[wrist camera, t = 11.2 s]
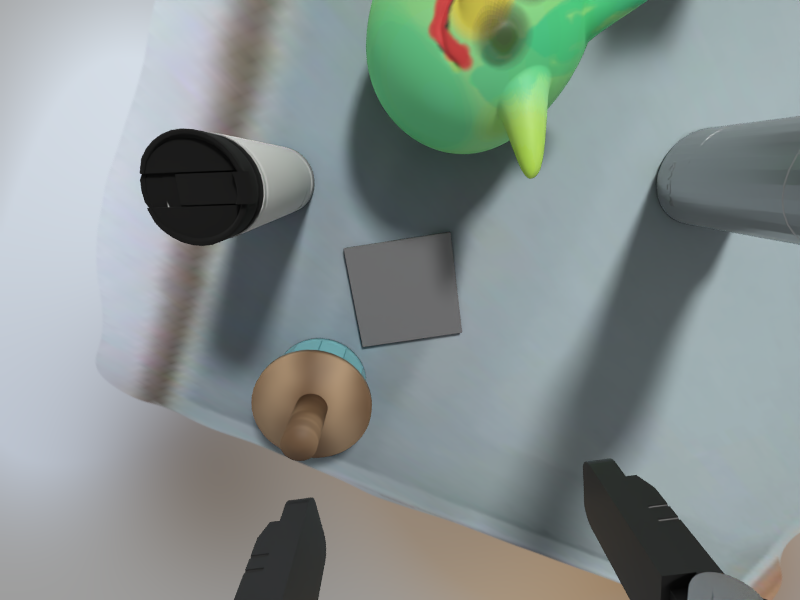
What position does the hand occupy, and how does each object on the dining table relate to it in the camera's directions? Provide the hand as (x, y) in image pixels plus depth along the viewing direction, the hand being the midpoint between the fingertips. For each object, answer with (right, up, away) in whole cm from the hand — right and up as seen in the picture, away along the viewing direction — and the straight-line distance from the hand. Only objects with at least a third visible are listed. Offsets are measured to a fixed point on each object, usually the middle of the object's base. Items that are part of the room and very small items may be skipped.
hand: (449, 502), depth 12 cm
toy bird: (+5, +28, +26) cm, 39 cm away
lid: (-10, -5, +30) cm, 32 cm away
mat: (-1, +7, +32) cm, 33 cm away
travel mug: (-13, +18, +29) cm, 36 cm away
